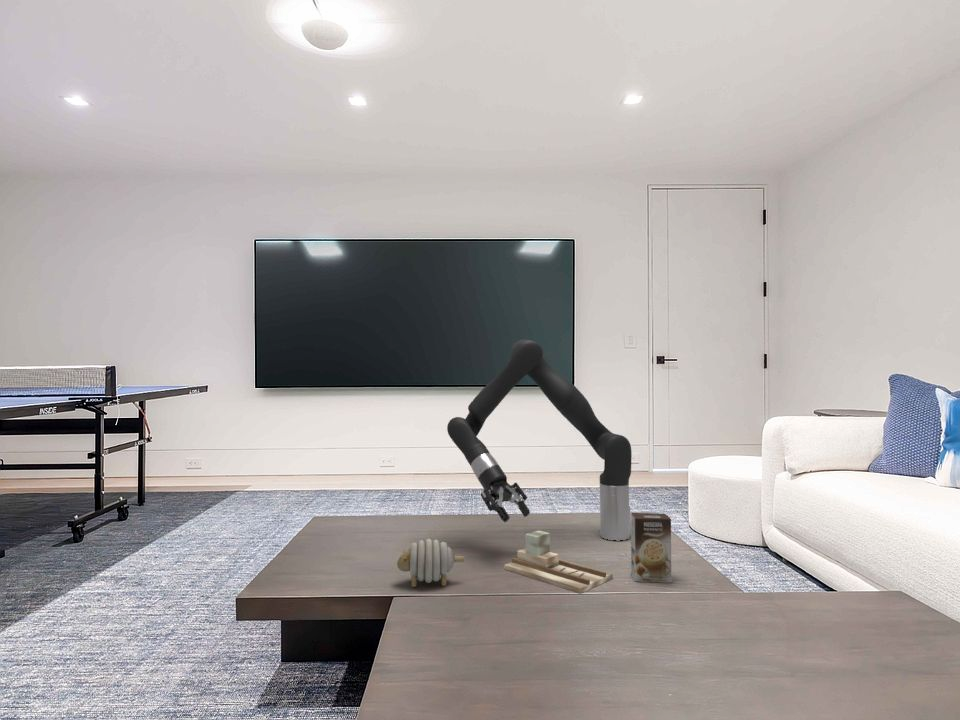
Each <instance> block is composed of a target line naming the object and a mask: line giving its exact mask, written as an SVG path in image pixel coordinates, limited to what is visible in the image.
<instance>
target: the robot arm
mask: <svg viewBox="0 0 960 720" xmlns="http://www.w3.org/2000/svg"><path fill="white" fill-rule="evenodd" d="M526 376H528V377H529V378H530V379H531V380H532V381H534V383H535V384H536V385H537V387H538V388H539V389H540V390H541V392H542V393H543V394H544V395H545V397H546V398H547V399H548V400H549V401H550V403H551V404H552V405H553V406H554V408H555V409H556V410H557V411H558V412H559V413H560V414H561V415H562V416H563V417H564V419H566V420H567V422H568V423H570V424H571V425H572V426H573V427H574V428H575V429H576V430H577V431H578V432H579V433H580V434H581V435H582V436H583V437H584V438H585V440H586V441H587V442H588V443H589V445H590V446H591V448H592V449H593V450H594V452H595V453H596V455H598V457H599V458H601V459H602V460H604V461H603V462H604V464H603V465H604V466H603V472H602V473H600V475H599V519H600V522H599V525H600V531H599V532H600V537H601V538H602V539H603V538H604V539H603V540H607V539H608V541H613V540H616V541H615V542H619V541H620V540H623V541H627V540H626V539H628V540H630V539H631V536H630V535H631V507H630V484H629V483H630V478H631V475H632V474H631V473H632V457H633V456H632V445H631V443H630V441H629V439H628V438H627V437H626V436H624V435H622V434H621V435H620V434H618V433H613V432H612V431H611V430H609V429H608V428H607V427H606V426H605V425H604V424H602V422H601V421H600V420H599V418H597V416H596V414H595V412H594V410H593V408H592V406H591V403H590V402H589V401H588V399H587V398H586V397H585V395H584V394H583V393H582V392H581V391H580V390H579V389H578V387H576V386H575V385H574V384H573V383H572V382H571V381H570V380H568V379H567V378H566V377H565V376H563V375H562V374H561V373H559V372H558V371H557V370H555V369H554V368H553V367H552V366H551V365H550V364H549V362H548V361H547V360H546V358H545V357H544V351H543V348H542V346H541V345H540V344H539V343H538V342H537V341H535V340H533V339H532V340H531V339H519V340H517V341H515V342H514V343H513V344H512V346H511V348H510V359H509V361H508V363H506V365H505V366H504V368H503V369H502V370H501V371H500V372H499V374H497V375H496V376H495V377H494V378H493V379H492V380H490V381H489V382H488V384H486V385H485V386H484V387H483V388H482V389H481V390H480V391H479V393H478V394H477V395H476V396H475V397H474V398H473V399H472V400H471V402H470V403H469V405H468V407H467V410H468V414H467V415H466V417H461V416H460V417H459V416H455V417H453V418H451V419H449V421H448V423H447V426H446V427H447V428H446V431H447V434H448V436H449V438H450V439H451V441H452V442H453V443H454V445H456V447H457V448H458V449H459V450H460V451H461V453H462V455H464V457H465V460H466V462H467V463H468V464H469V466H470V468H471V470H472V472H473V474H474V475H475V477H476V479H477V480H478V483H480V485H481V488H482V489H483V491H482V492H481V493H480V496H481V498H482V500H483V502H484V504H485V506H486V508H487V509H488V511H490V512H492V511H494V512H495V513H497V515H498V516H499V518H500V519H501V520H502V522H504V523H507V522H508V521H509V520H510V515H509V513H508V512H507V510H506V509H505V507H504V506H503V503H504V502H509V503H510V504H514V505H516V506H517V508H518V510H519V512H520V513H521V514H522V515H523V517H524V518H525V517H528V516H529V515H530V513H531V512H530V509H529V507H528V505H527V504H526V503H525V501H526V500H527V499H528V496H527V495H526V493H525V491H523V489H522V488H521V487H520V486H519V484H518V483H517V482H514V483H513V484H510V483H508V480H507V479H508V477H507V475H506V473H505V472H504V471H503V469H502V467H501V466H500V464H499V463H498V461H497V460H496V458H494V457H493V455H492V454H491V453H490V451H489V450H488V448H487V447H486V445H485V444H484V443H483V441H481V440H480V439H479V438H478V435H479V433H480V432H481V430H482V429H483V427H484V424H485V422H486V419H488V418H489V417H490V415H491V414H492V413H493V412H494V411H495V409H496V408H497V407H498V406H499V405H500V404H501V402H502V401H503V400H504V399H505V398H506V396H507V395H508V394H509V393H510V392H511V390H512V389H513V388H514V387H515V386H516V385H518V384H519V382H520V381H521V380H522V379H524V377H526ZM620 542H621V541H620Z"/></svg>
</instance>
